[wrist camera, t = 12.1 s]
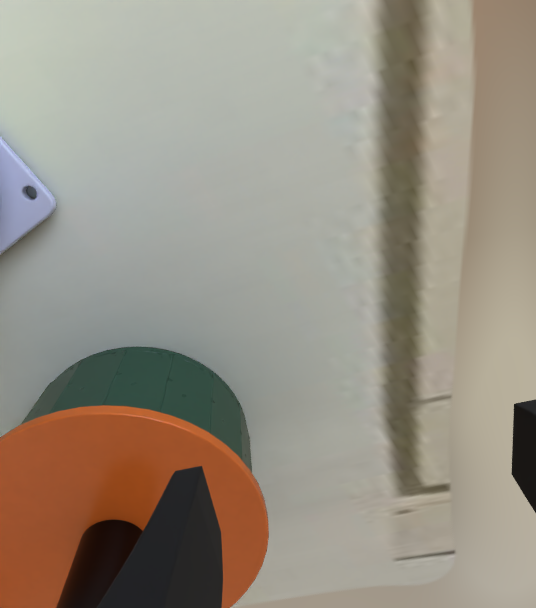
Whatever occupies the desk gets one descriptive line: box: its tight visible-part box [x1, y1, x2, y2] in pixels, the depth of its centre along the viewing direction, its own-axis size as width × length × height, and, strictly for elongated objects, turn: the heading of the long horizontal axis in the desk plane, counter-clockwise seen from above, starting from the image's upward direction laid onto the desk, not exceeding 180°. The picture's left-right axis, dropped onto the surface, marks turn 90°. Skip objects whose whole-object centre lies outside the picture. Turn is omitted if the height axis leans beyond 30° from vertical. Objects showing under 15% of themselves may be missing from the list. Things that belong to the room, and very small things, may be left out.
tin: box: [21, 347, 252, 473], centre depth 19 cm, size 10×10×5 cm
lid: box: [0, 405, 269, 608], centre depth 15 cm, size 11×11×4 cm
